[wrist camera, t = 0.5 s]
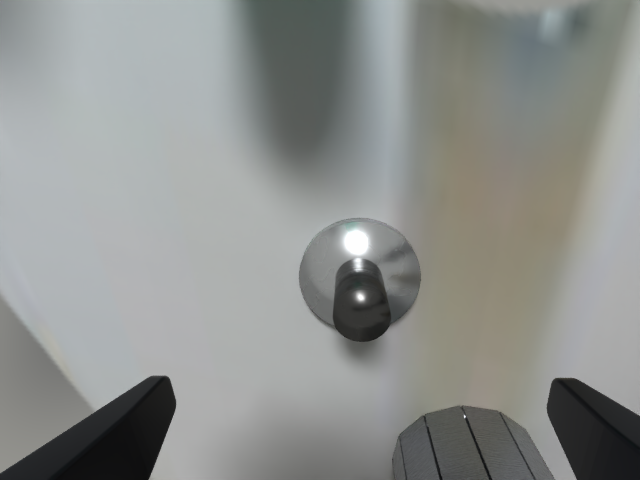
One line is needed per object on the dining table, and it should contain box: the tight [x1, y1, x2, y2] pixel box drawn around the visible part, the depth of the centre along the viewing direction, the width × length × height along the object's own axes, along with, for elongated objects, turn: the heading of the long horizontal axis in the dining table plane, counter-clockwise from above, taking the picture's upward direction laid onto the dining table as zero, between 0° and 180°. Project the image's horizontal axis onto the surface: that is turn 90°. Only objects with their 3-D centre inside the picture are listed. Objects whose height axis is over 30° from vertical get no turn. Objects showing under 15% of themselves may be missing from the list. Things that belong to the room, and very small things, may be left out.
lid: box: [299, 218, 421, 342], centre depth 18 cm, size 7×7×5 cm
